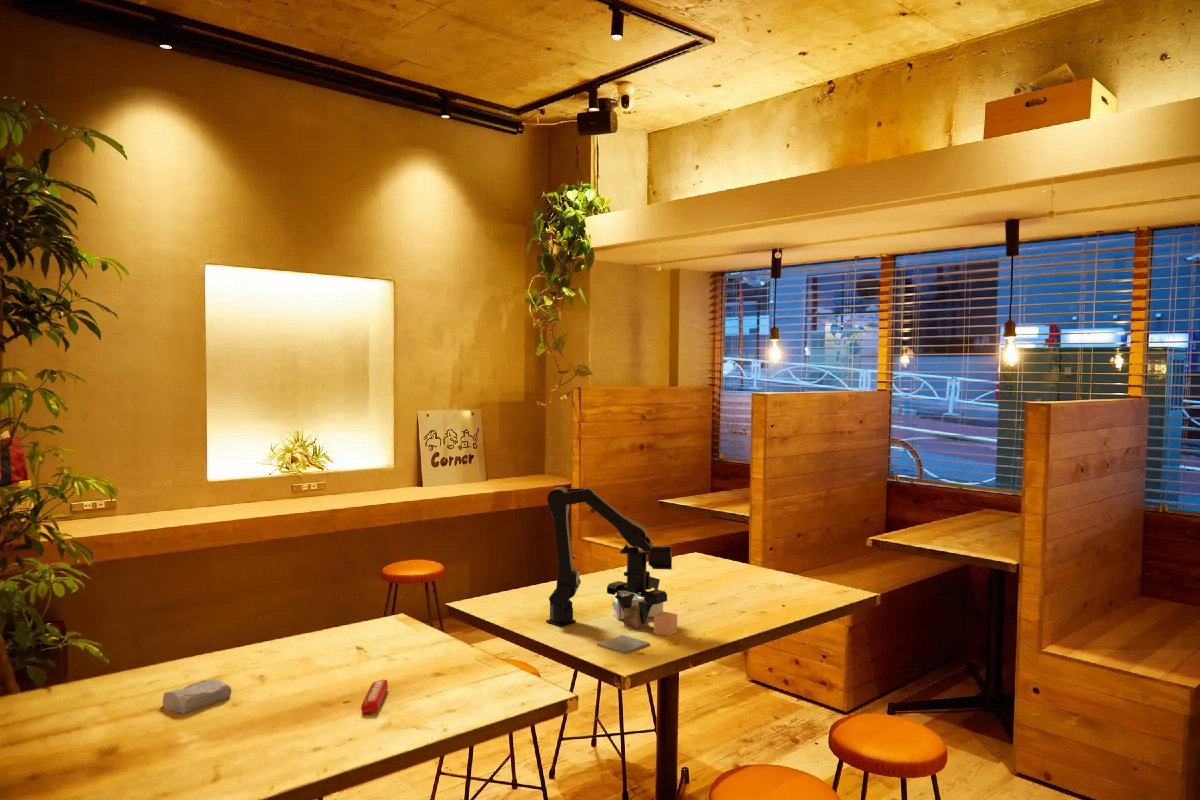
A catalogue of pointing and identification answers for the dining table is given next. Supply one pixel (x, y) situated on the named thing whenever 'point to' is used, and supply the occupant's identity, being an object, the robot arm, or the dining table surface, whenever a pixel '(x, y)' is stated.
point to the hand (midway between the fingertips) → (636, 621)
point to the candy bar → (374, 696)
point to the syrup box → (619, 611)
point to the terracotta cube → (665, 623)
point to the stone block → (196, 696)
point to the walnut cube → (633, 617)
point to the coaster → (623, 644)
